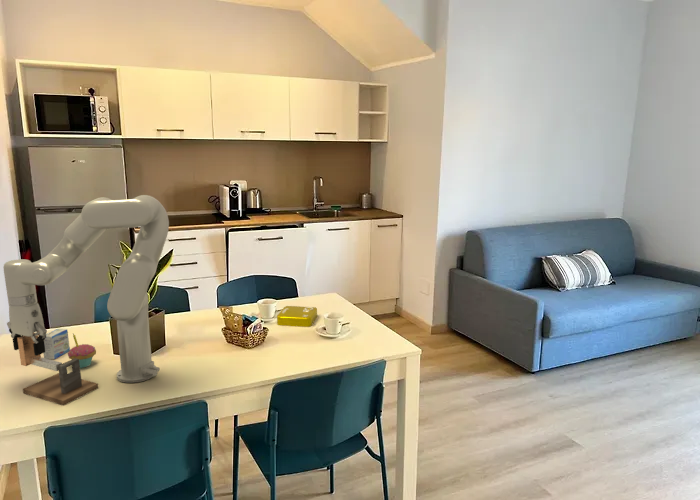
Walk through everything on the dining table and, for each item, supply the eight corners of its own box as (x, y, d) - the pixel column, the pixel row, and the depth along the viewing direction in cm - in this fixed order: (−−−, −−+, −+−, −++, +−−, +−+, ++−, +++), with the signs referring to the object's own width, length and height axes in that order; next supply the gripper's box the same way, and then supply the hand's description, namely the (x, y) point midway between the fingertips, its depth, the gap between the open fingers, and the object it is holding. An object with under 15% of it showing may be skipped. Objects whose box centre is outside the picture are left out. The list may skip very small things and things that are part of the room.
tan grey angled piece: (67, 366, 160) (63, 339, 158) (52, 373, 155) (48, 345, 153) (36, 358, 166) (32, 332, 164) (21, 364, 161) (17, 337, 159)
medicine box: (54, 359, 181) (51, 336, 180) (43, 358, 182) (40, 335, 181) (70, 351, 189) (67, 328, 187) (60, 350, 190) (57, 328, 188)
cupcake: (69, 372, 172) (65, 338, 169) (69, 362, 179) (65, 330, 177) (97, 367, 176) (94, 334, 173) (96, 357, 183) (93, 326, 181)
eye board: (98, 387, 161) (94, 357, 159) (63, 405, 150) (59, 372, 148) (59, 377, 168) (55, 347, 166) (23, 393, 157) (18, 361, 155)
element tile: (285, 314, 231) (285, 304, 230) (318, 316, 228) (317, 306, 227) (275, 326, 216) (275, 315, 215) (310, 328, 214) (310, 317, 213)
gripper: (52, 299, 158) (59, 351, 162) (16, 292, 165) (23, 342, 169) (29, 306, 152) (36, 360, 155) (-8, 299, 159) (0, 351, 162)
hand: (29, 351), depth 162 cm, fingers open, 9 cm apart
